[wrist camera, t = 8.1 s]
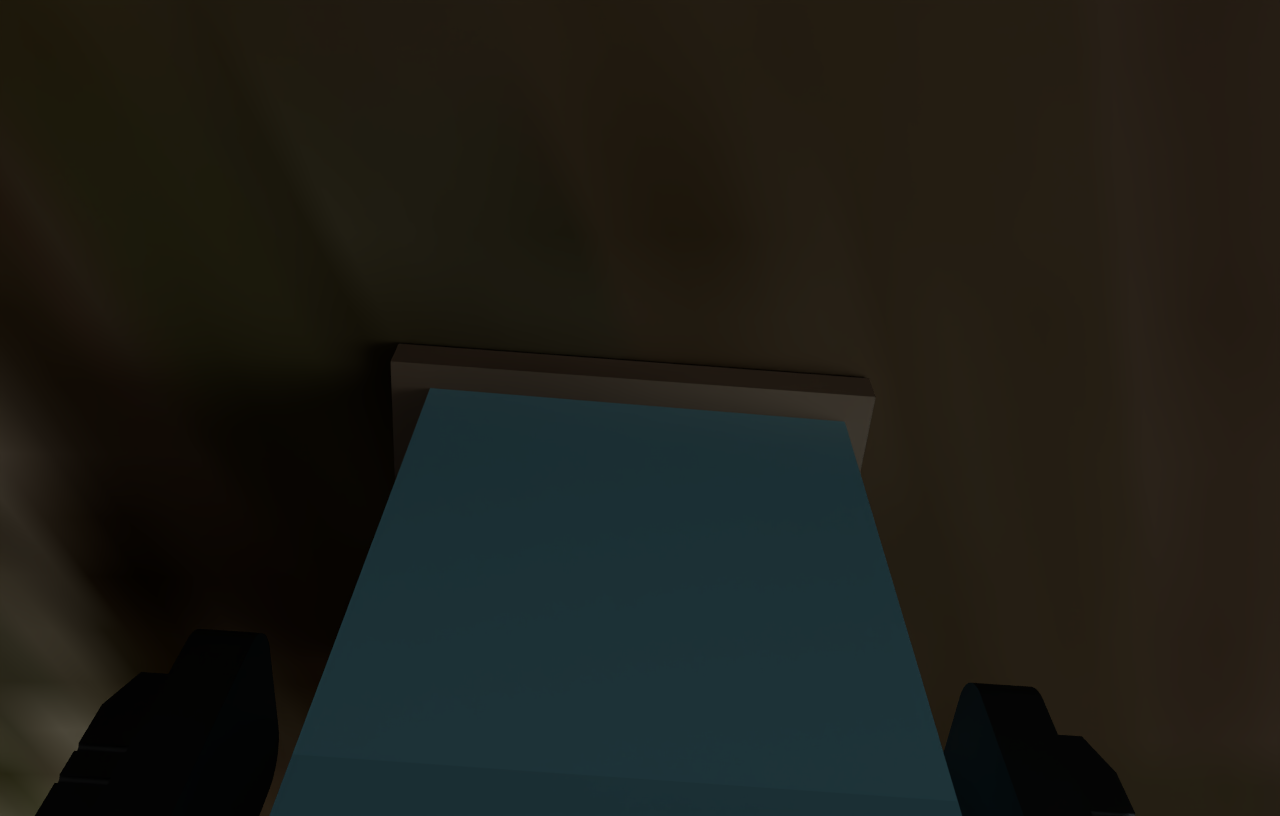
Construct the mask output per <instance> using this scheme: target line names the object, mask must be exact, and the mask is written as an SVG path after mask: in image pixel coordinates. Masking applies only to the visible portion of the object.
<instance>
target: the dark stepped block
mask: <svg viewBox="0 0 1280 816" xmlns="http://www.w3.org/2000/svg"><path fill="white" fill-rule="evenodd" d="M391 388H392V415H393V443H394V470H395V480H396V478H397V475H398V472H399V470H400V467H401V464H402V462H403V459H404V456H405V454H406V451H407V448H408V446H409V443H410V440H411V438H412V435H413V432H414V430H415V427H416V424H417V422H418V419H419V416H420V414H421V411H422V408H423V406H424V403H425V400H426V398H427V395H428V392H429V390H430V388H435V389H448V390H460V391H472V392H485V393H497V394H509V395H522V396H534V397H546V398H559V399H571V400H583V401H596V402H608V403H620V404H633V405H645V406H657V407H670V408H682V409H695V410H707V411H719V412H732V413H744V414H756V415H769V416H781V417H793V418H806V419H818V420H830V421H843V422H845V424H846V427H847V431H848V434H849V438H850V441H851V444H852V448H853V451H854V454H855V458H856V461H857V464H858V468H859V471H861V466H862V461H863V456H864V451H865V446H866V441H867V436H868V431H869V427H870V422H871V417H872V412H873V407H874V402H875V394H874V391H873V389H872V386H871V383H870V380H869V378H857V377H844V376H830V375H817V374H803V373H789V372H776V371H762V370H749V369H735V368H722V367H708V366H695V365H681V364H668V363H654V362H641V361H627V360H614V359H600V358H587V357H573V356H560V355H546V354H533V353H519V352H506V351H492V350H479V349H465V348H452V347H438V346H424V345H411V344H398V346H397V348H396V351H395V353H394V355H393V357H392V359H391Z"/></svg>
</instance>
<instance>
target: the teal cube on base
mask: <svg viewBox="0 0 1280 816" xmlns="http://www.w3.org/2000/svg"><path fill="white" fill-rule="evenodd" d="M270 816H962V814H961V810H960V807H959V804H958V800H957V797H956V793H955V790H954V787H953V783H952V780H951V777H950V773H949V770H948V767H947V763H946V760H945V757H944V753H943V750H942V746H941V743H940V740H939V736H938V733H937V730H936V726H935V723H934V720H933V716H932V713H931V710H930V706H929V703H928V699H927V696H926V693H925V689H924V686H923V683H922V679H921V676H920V673H919V669H918V666H917V663H916V659H915V656H914V652H913V649H912V646H911V642H910V639H909V636H908V632H907V629H906V626H905V622H904V619H903V616H902V612H901V609H900V605H899V602H898V599H897V595H896V592H895V589H894V585H893V582H892V579H891V575H890V572H889V569H888V565H887V562H886V558H885V555H884V552H883V548H882V545H881V542H880V538H879V535H878V532H877V528H876V525H875V521H874V518H873V515H872V511H871V508H870V505H869V501H868V498H867V495H866V491H865V488H864V485H863V481H862V478H861V474H860V471H859V468H858V464H857V461H856V458H855V454H854V451H853V448H852V444H851V441H850V438H849V434H848V431H847V427H846V424H845V422H843V421H830V420H818V419H806V418H793V417H781V416H769V415H756V414H744V413H732V412H719V411H707V410H695V409H682V408H670V407H657V406H645V405H633V404H620V403H608V402H596V401H583V400H571V399H559V398H546V397H534V396H522V395H509V394H497V393H485V392H472V391H460V390H448V389H435V388H430V390H429V392H428V395H427V398H426V400H425V403H424V406H423V408H422V411H421V414H420V416H419V419H418V422H417V424H416V427H415V430H414V432H413V435H412V438H411V440H410V443H409V446H408V448H407V451H406V454H405V456H404V459H403V462H402V464H401V467H400V470H399V472H398V475H397V478H396V480H395V483H394V486H393V488H392V491H391V494H390V496H389V499H388V501H387V504H386V507H385V509H384V512H383V515H382V517H381V520H380V523H379V525H378V528H377V531H376V533H375V536H374V539H373V541H372V544H371V547H370V549H369V552H368V555H367V557H366V560H365V563H364V565H363V568H362V571H361V573H360V576H359V579H358V581H357V584H356V587H355V589H354V592H353V595H352V597H351V600H350V603H349V605H348V608H347V611H346V613H345V616H344V619H343V621H342V624H341V627H340V629H339V632H338V635H337V637H336V640H335V643H334V645H333V648H332V651H331V653H330V656H329V659H328V661H327V664H326V667H325V669H324V672H323V675H322V677H321V680H320V683H319V685H318V688H317V691H316V693H315V696H314V699H313V701H312V704H311V707H310V709H309V712H308V715H307V717H306V720H305V723H304V725H303V728H302V731H301V733H300V736H299V739H298V741H297V744H296V747H295V749H294V752H293V755H292V757H291V760H290V763H289V765H288V768H287V771H286V773H285V776H284V779H283V781H282V784H281V787H280V789H279V792H278V795H277V797H276V800H275V803H274V805H273V808H272V811H271V813H270Z"/></svg>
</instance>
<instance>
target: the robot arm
mask: <svg viewBox="0 0 1280 816" xmlns="http://www.w3.org/2000/svg"><path fill="white" fill-rule="evenodd" d="M278 743H279V730H278V720H277V711H276V702H275V693H274V684H273V675H272V666H271V657H270V648H269V643H268V639H267V637H266V635H265V634H263V633H252V632H237V631H222V630H207V629H197V630H195V631H194V632H193V633H192V634H191V635H190V636H189V638H188V640H187V641H186V643H185V645H184V647H183V649H182V650H181V652H180V654H179V656H178V658H177V660H176V661H175V663H174V665H173V667H172V669H171V670H170V672H169V674H161V673H145V672H141V673H140V674H138V675H137V676H136V677H135V678H134V679H132V680H131V681H130V682H129V683H127V684H126V685H125V686H124V687H123V688H121V689H120V690H119V691H118V692H117V693H115V694H114V695H113V696H112V697H111V698H109V699H108V700H107V701H106V702H104V703H103V704H102V705H101V707H100V709H99V710H98V712H97V714H96V715H95V717H94V719H93V720H92V722H91V724H90V725H89V727H88V729H87V730H86V732H85V734H84V735H83V737H82V739H81V740H80V742H79V747H78V750H77V751H74V752H73V753H72V755H71V757H70V758H69V760H68V762H67V763H66V765H65V767H64V768H63V770H62V772H61V773H60V779H59V782H58V783H54V785H53V787H52V788H51V790H50V792H49V793H48V795H47V797H46V798H45V800H44V802H43V803H42V805H41V806H40V808H39V810H38V811H37V813H36V815H35V816H259V815H260V812H261V810H262V807H263V804H264V802H265V799H266V797H267V794H268V791H269V789H270V786H271V783H272V779H273V776H274V771H275V767H276V761H277V754H278ZM944 757H945V760H946V763H947V767H948V770H949V773H950V777H951V780H952V783H953V787H954V790H955V793H956V797H957V800H958V804H959V807H960V810H961V814H962V816H1135V812H1134V810H1133V808H1132V806H1131V803H1130V801H1129V799H1128V797H1127V795H1126V793H1125V791H1124V788H1123V786H1122V784H1121V782H1120V780H1119V778H1118V776H1117V773H1116V772H1115V771H1114V770H1113V769H1112V768H1111V767H1110V766H1109V765H1108V764H1107V763H1106V762H1105V761H1104V759H1103V758H1102V757H1101V756H1100V755H1099V754H1098V753H1097V752H1096V751H1095V750H1094V749H1093V748H1092V747H1091V746H1090V745H1089V744H1088V743H1087V741H1086V740H1085V739H1084V738H1083V737H1082V736H1067V735H1058V734H1057V731H1056V729H1055V727H1054V724H1053V722H1052V720H1051V717H1050V715H1049V713H1048V710H1047V708H1046V706H1045V703H1044V701H1043V699H1042V697H1041V695H1040V693H1039V692H1038V691H1037V690H1036V689H1035V688H1033V687H1026V686H1011V685H996V684H981V683H968V684H966V686H965V687H964V688H963V690H962V692H961V695H960V698H959V702H958V705H957V709H956V712H955V716H954V719H953V722H952V726H951V729H950V733H949V736H948V740H947V743H946V747H945V750H944Z"/></svg>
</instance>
